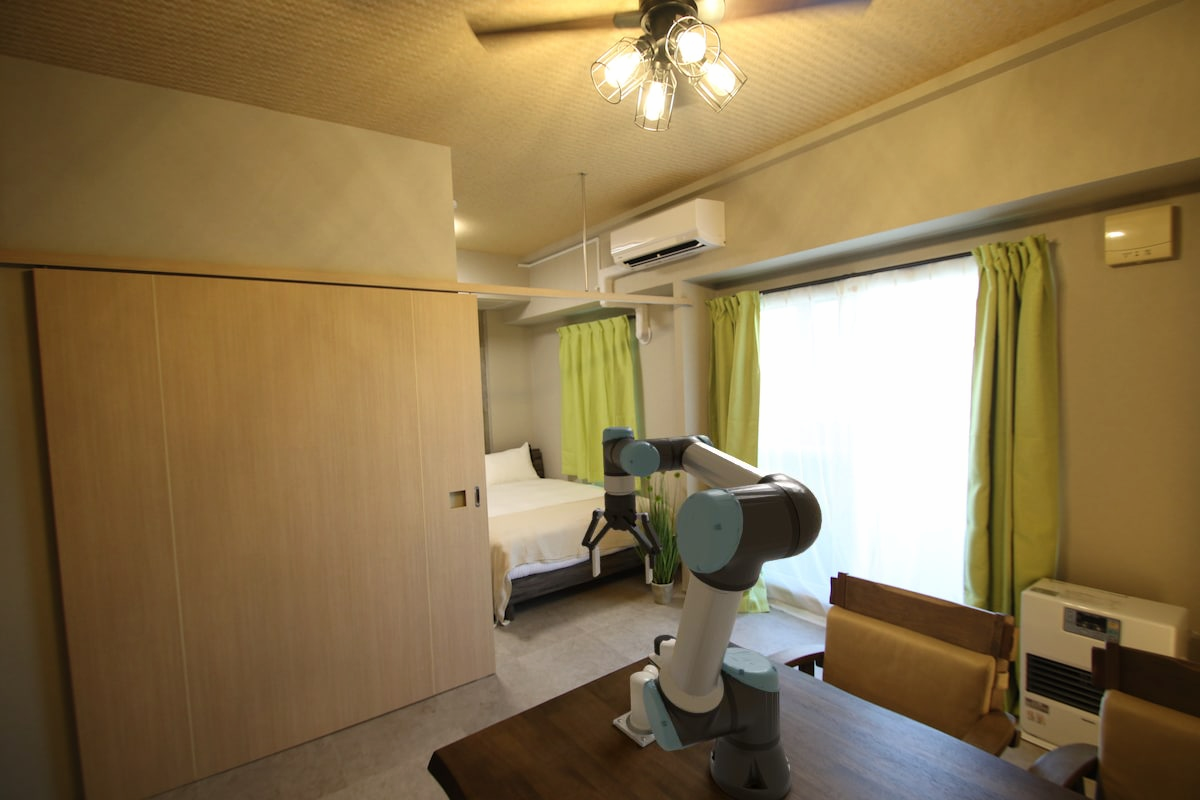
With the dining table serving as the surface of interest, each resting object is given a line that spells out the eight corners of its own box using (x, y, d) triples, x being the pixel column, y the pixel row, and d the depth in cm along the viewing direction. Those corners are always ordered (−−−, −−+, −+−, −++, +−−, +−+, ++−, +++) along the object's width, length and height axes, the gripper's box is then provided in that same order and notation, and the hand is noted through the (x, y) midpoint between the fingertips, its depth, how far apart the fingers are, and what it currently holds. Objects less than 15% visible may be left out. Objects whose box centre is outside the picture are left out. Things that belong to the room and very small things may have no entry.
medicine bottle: (648, 681, 135) (646, 635, 135) (671, 674, 138) (670, 629, 138) (662, 696, 129) (661, 648, 128) (687, 687, 132) (685, 641, 131)
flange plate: (676, 727, 117) (676, 723, 117) (642, 747, 111) (642, 743, 111) (646, 706, 125) (645, 702, 125) (613, 723, 119) (613, 719, 119)
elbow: (653, 733, 114) (651, 688, 114) (626, 727, 116) (624, 683, 116) (665, 708, 123) (663, 666, 122) (639, 703, 125) (638, 661, 125)
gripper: (674, 490, 125) (676, 578, 126) (579, 485, 134) (582, 566, 136) (666, 498, 118) (668, 590, 119) (566, 491, 128) (569, 577, 129)
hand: (622, 578), depth 127 cm, fingers open, 13 cm apart
